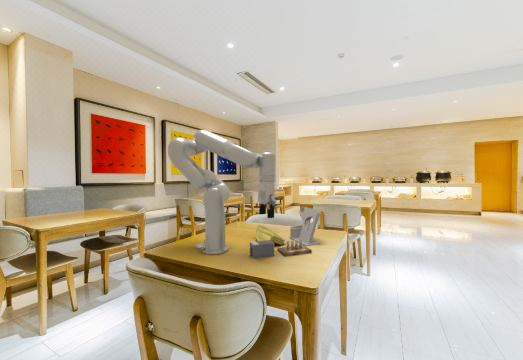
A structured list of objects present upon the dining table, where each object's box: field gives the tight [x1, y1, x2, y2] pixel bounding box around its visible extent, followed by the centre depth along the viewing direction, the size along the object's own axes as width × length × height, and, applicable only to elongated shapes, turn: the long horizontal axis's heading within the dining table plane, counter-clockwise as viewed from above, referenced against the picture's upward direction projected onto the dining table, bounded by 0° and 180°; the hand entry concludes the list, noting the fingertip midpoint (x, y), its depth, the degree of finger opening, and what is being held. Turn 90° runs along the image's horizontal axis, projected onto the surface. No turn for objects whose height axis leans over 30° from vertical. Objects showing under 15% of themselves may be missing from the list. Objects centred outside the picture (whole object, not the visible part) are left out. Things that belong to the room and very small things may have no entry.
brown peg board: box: [276, 240, 312, 258], centre depth 112 cm, size 14×8×6 cm, turn 110°
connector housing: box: [249, 240, 275, 260], centre depth 107 cm, size 10×5×6 cm, turn 110°
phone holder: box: [289, 206, 321, 247], centre depth 130 cm, size 17×10×18 cm, turn 24°
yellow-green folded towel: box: [255, 224, 285, 246], centre depth 129 cm, size 20×7×10 cm
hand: (266, 216), depth 109 cm, fingers open, 9 cm apart
